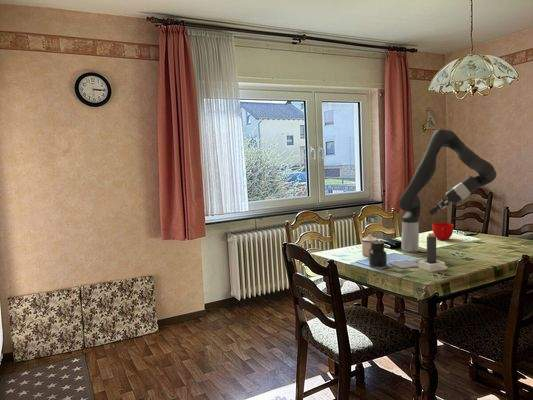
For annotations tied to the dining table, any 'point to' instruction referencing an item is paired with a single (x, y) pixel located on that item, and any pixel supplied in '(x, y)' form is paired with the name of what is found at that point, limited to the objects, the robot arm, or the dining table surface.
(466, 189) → the robot arm
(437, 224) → the ceramic cup
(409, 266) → the grey felt mat
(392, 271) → the dining table surface
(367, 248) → the teacup with lid
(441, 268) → the square ring with handle
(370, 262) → the ink bottle
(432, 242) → the black cable stub
